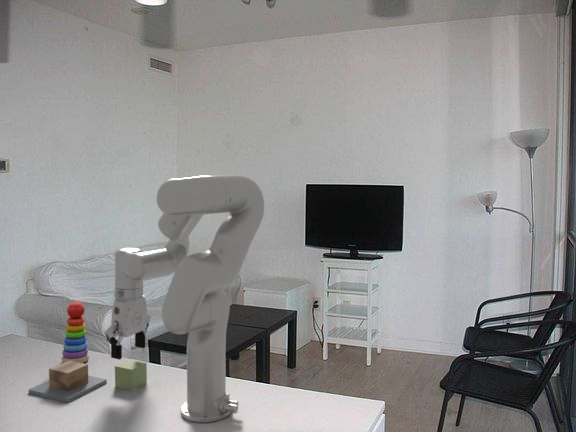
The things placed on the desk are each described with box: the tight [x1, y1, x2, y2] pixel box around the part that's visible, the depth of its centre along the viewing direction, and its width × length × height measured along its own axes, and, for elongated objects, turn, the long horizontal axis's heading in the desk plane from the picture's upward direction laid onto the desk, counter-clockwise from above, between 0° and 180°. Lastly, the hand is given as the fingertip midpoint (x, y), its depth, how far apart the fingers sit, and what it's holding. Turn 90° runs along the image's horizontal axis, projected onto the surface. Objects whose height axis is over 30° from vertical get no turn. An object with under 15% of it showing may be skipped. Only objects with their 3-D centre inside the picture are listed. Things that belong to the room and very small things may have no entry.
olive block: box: [114, 358, 148, 392], centre depth 145 cm, size 6×6×6 cm
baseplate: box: [28, 375, 107, 404], centre depth 143 cm, size 14×14×1 cm
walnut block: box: [48, 360, 89, 391], centre depth 142 cm, size 7×7×5 cm
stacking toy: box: [61, 301, 90, 364], centre depth 162 cm, size 8×8×19 cm
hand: (128, 352), depth 145 cm, fingers open, 9 cm apart
